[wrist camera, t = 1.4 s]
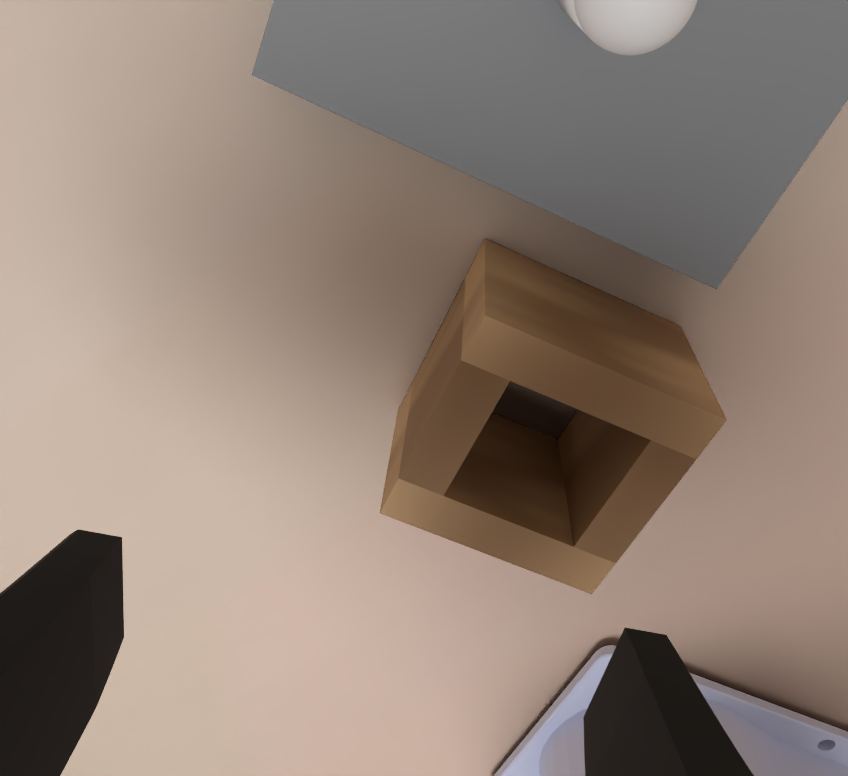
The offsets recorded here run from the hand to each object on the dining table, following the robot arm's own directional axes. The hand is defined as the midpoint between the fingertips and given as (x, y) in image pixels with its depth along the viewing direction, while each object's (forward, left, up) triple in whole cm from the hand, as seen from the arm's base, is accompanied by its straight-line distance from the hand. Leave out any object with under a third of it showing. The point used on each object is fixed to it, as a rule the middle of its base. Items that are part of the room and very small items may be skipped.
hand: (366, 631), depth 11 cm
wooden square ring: (-3, -1, -9) cm, 9 cm away
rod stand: (0, -9, -9) cm, 12 cm away
